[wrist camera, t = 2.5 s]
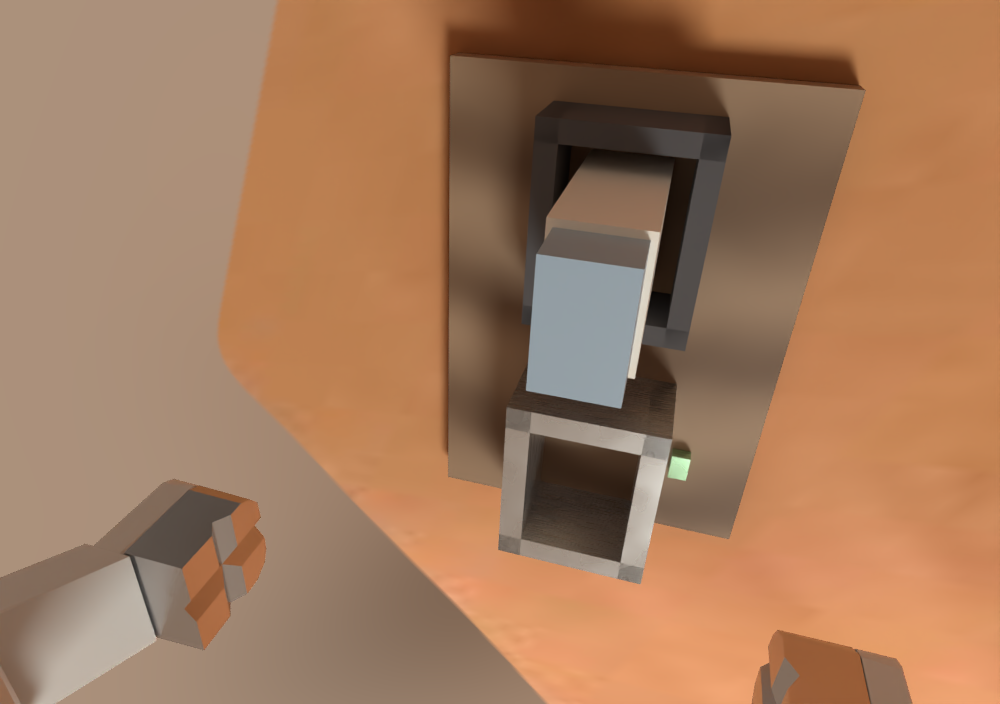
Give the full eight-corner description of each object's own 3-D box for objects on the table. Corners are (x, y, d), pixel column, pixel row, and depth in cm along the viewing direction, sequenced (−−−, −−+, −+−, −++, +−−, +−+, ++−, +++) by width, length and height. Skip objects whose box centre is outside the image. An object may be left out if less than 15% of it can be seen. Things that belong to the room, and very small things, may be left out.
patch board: (458, 52, 25) (450, 55, 24) (859, 85, 22) (865, 90, 21) (454, 464, 35) (448, 476, 34) (728, 524, 32) (729, 539, 31)
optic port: (530, 357, 30) (506, 407, 26) (706, 389, 28) (705, 446, 25) (519, 491, 34) (498, 549, 30) (673, 526, 32) (668, 591, 29)
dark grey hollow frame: (553, 100, 24) (535, 116, 21) (729, 116, 23) (731, 135, 20) (538, 291, 28) (521, 323, 25) (687, 315, 27) (685, 351, 24)
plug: (591, 149, 24) (528, 243, 16) (675, 158, 24) (654, 261, 15) (579, 262, 27) (518, 396, 18) (654, 273, 26) (627, 417, 18)
